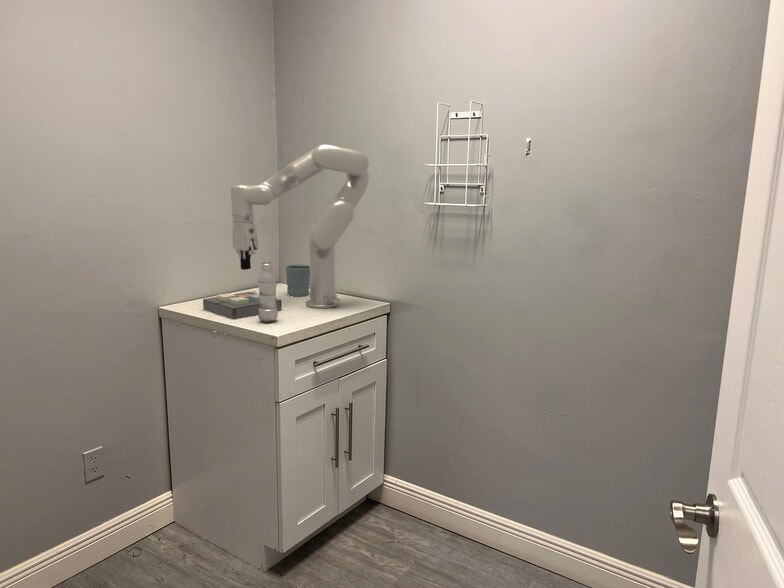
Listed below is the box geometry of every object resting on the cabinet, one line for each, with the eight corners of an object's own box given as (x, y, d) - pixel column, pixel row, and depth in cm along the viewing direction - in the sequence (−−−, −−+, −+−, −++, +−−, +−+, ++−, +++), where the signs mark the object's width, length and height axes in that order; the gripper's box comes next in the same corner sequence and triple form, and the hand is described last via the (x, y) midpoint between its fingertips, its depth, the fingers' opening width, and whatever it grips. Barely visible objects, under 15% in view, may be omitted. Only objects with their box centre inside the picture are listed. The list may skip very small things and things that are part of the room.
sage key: (249, 305, 207) (248, 298, 206) (236, 307, 203) (236, 300, 203) (241, 303, 210) (240, 296, 209) (228, 305, 206) (228, 298, 206)
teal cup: (281, 295, 240) (280, 266, 238) (299, 291, 248) (298, 263, 246) (298, 298, 234) (297, 269, 232) (316, 294, 242) (315, 266, 240)
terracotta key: (255, 302, 218) (255, 295, 217) (243, 304, 214) (243, 297, 214) (247, 299, 221) (247, 293, 221) (236, 301, 218) (236, 295, 217)
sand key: (236, 302, 212) (236, 295, 211) (224, 304, 208) (224, 297, 208) (229, 299, 215) (228, 293, 215) (216, 301, 212) (216, 295, 211)
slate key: (267, 302, 212) (267, 295, 212) (256, 304, 209) (256, 297, 208) (259, 300, 216) (259, 293, 215) (248, 302, 212) (248, 295, 212)
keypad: (281, 310, 213) (281, 299, 212) (233, 319, 199) (233, 308, 198) (250, 301, 226) (250, 291, 226) (203, 309, 212) (203, 298, 211)
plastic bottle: (254, 321, 196) (252, 263, 192) (268, 318, 202) (267, 261, 198) (267, 324, 193) (266, 265, 189) (282, 320, 198) (281, 262, 194)
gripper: (263, 219, 209) (266, 270, 213) (240, 217, 219) (243, 265, 223) (245, 221, 204) (248, 272, 208) (222, 218, 214) (225, 268, 218)
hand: (245, 269), depth 215 cm, fingers closed
